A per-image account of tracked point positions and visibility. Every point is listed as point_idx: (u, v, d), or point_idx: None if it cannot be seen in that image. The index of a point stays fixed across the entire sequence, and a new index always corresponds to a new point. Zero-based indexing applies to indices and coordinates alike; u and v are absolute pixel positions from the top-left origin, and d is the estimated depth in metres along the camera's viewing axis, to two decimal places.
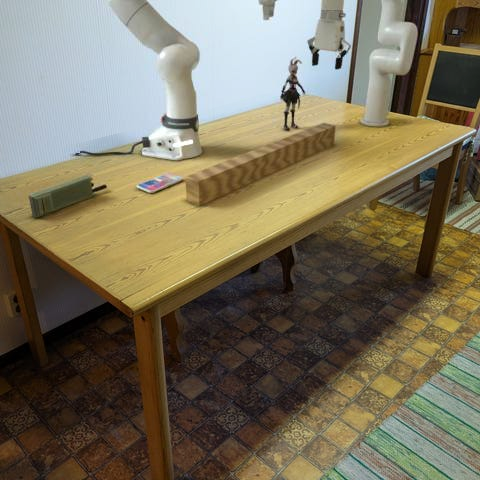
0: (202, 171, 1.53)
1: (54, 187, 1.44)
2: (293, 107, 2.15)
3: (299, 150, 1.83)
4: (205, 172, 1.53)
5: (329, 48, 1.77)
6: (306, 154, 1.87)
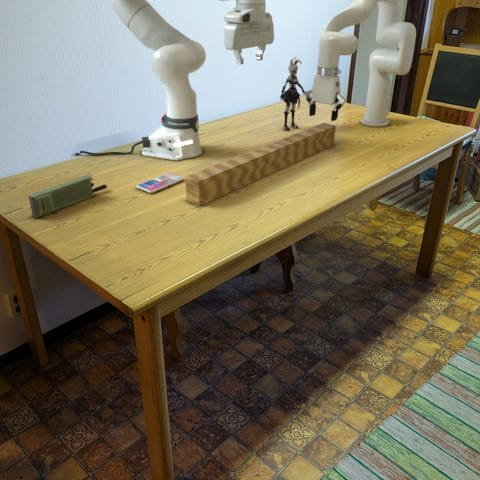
0: (202, 171, 1.53)
1: (54, 187, 1.44)
2: (293, 107, 2.15)
3: (299, 150, 1.83)
4: (205, 172, 1.53)
5: (325, 101, 1.87)
6: (306, 154, 1.87)
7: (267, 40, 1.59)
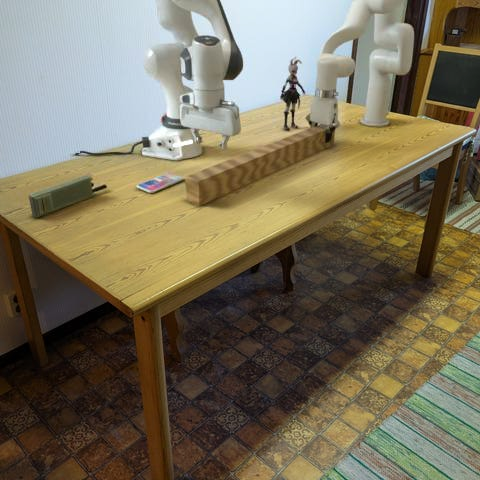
0: (202, 171, 1.53)
1: (54, 187, 1.44)
2: (293, 107, 2.15)
3: (299, 150, 1.83)
4: (205, 172, 1.53)
5: (323, 122, 1.91)
6: (306, 154, 1.87)
7: (223, 130, 1.42)
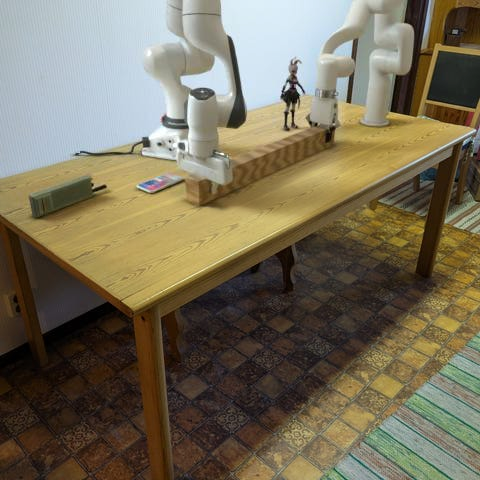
0: None
1: (54, 187, 1.44)
2: (293, 107, 2.15)
3: (299, 150, 1.83)
4: None
5: (323, 122, 1.91)
6: (306, 154, 1.87)
7: (215, 178, 1.47)
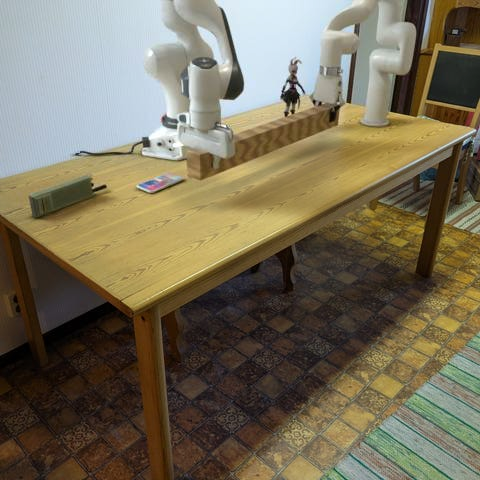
0: None
1: (54, 187, 1.44)
2: (293, 107, 2.15)
3: (303, 128, 1.78)
4: None
5: (328, 101, 1.87)
6: (310, 133, 1.83)
7: (217, 152, 1.42)
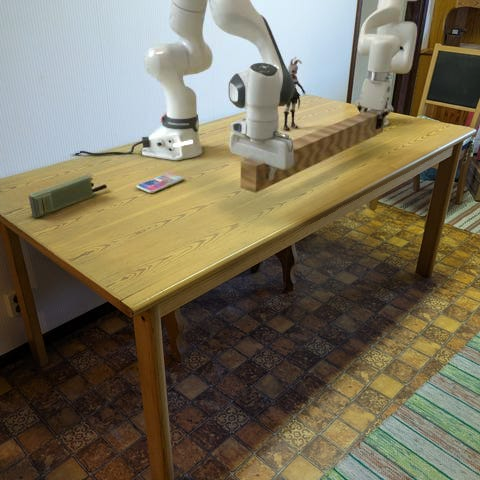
0: None
1: (54, 187, 1.44)
2: (293, 107, 2.15)
3: (352, 136, 1.71)
4: None
5: (375, 107, 1.80)
6: (357, 140, 1.76)
7: (275, 163, 1.35)
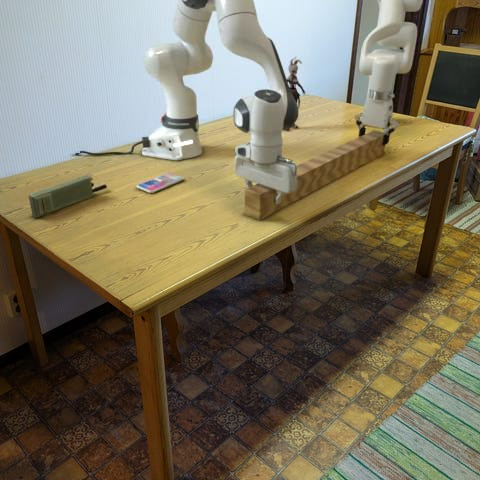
0: None
1: (54, 187, 1.44)
2: None
3: (353, 159, 1.75)
4: None
5: (377, 125, 1.82)
6: (359, 163, 1.79)
7: (278, 186, 1.38)
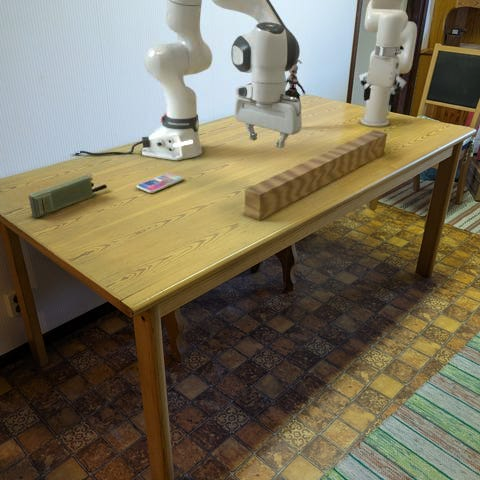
0: (261, 183, 1.46)
1: (54, 187, 1.44)
2: None
3: (353, 159, 1.75)
4: (265, 185, 1.45)
5: (383, 84, 1.75)
6: (359, 163, 1.79)
7: (282, 127, 1.29)
